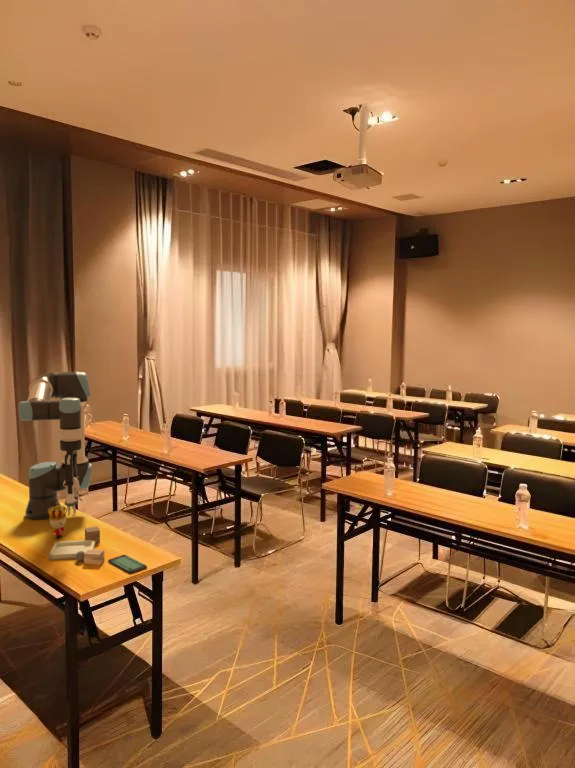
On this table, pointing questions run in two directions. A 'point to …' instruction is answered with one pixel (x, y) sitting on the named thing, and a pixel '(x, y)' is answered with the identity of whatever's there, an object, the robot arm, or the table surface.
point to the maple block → (94, 556)
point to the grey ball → (80, 556)
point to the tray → (70, 548)
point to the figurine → (76, 488)
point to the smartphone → (127, 564)
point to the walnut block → (92, 534)
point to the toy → (57, 519)
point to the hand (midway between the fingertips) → (71, 498)
